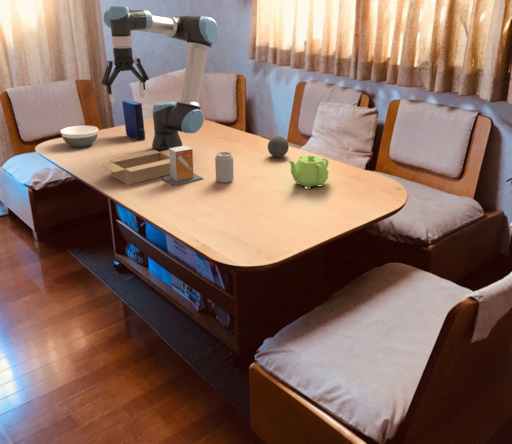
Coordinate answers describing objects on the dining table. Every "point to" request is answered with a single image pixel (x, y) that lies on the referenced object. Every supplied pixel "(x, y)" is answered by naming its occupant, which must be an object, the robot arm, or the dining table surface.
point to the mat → (176, 183)
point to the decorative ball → (278, 146)
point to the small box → (181, 163)
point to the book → (133, 119)
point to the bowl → (79, 135)
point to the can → (224, 167)
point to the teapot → (310, 170)
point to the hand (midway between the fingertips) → (127, 99)
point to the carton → (139, 166)
